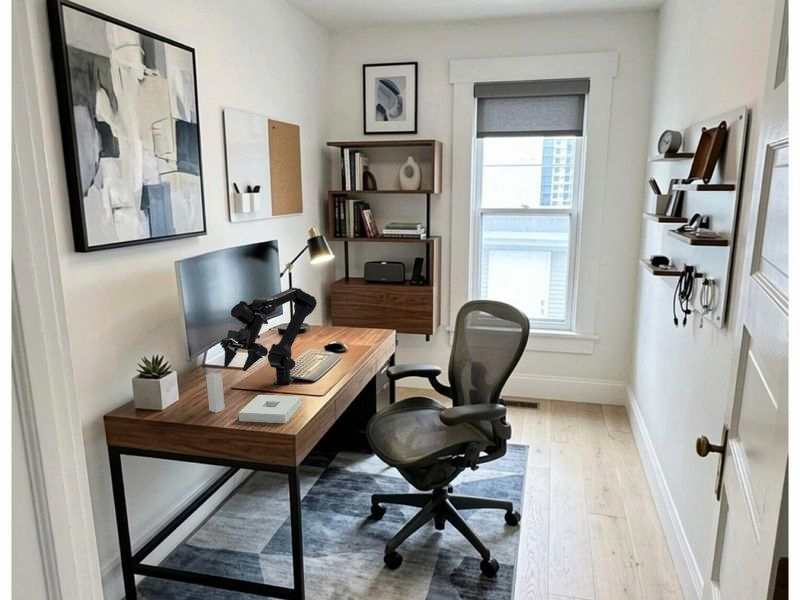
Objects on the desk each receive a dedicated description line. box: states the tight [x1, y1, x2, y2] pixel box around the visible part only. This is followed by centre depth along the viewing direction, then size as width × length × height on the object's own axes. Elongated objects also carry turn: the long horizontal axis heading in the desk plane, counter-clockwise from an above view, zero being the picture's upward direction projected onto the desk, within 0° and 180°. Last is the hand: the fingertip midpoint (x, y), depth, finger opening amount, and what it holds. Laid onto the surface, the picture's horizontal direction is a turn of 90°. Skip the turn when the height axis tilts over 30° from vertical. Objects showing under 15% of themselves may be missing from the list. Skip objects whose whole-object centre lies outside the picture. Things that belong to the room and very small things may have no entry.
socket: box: [238, 394, 302, 424], centre depth 183 cm, size 16×16×3 cm
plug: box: [205, 372, 226, 413], centre depth 185 cm, size 4×4×13 cm
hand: (234, 369), depth 190 cm, fingers open, 9 cm apart
